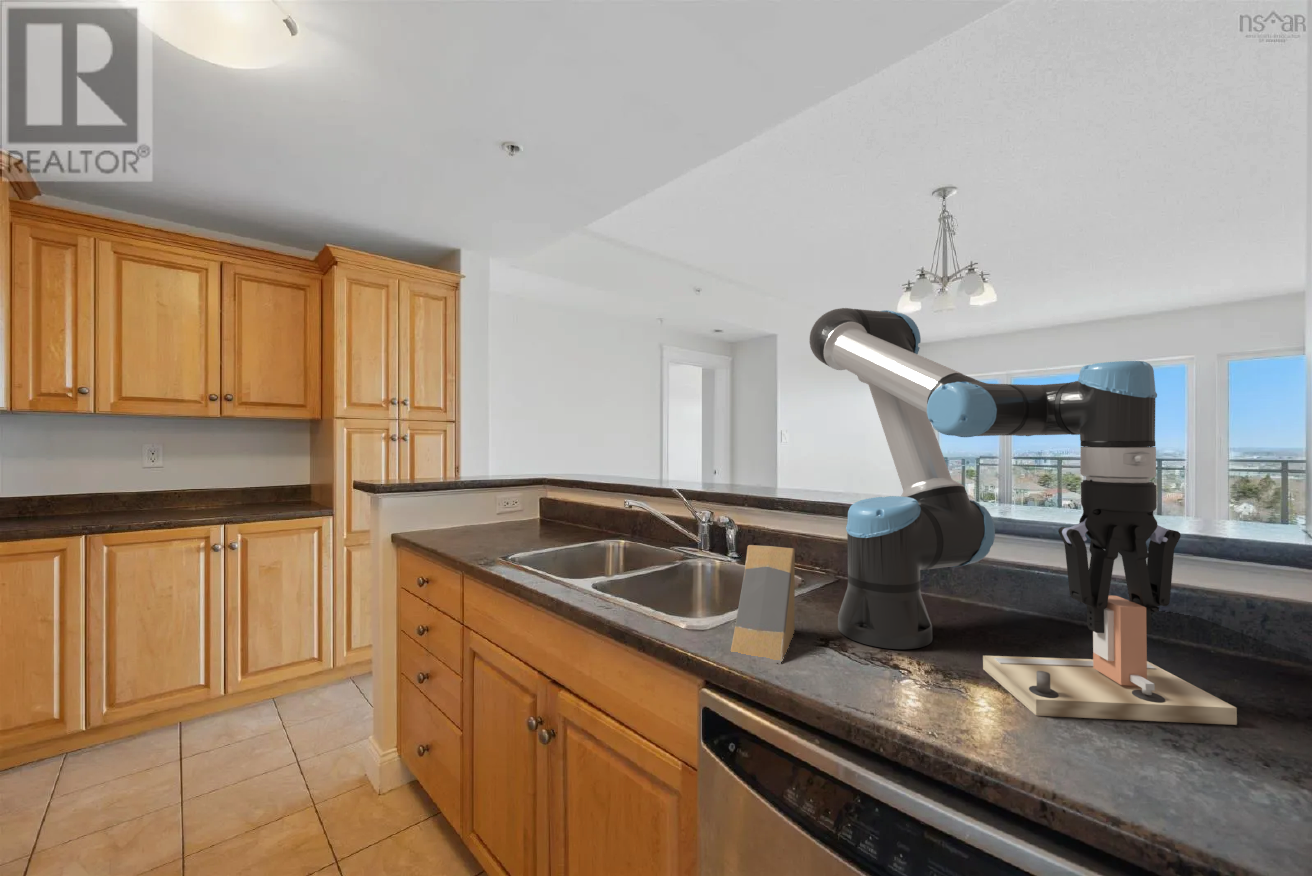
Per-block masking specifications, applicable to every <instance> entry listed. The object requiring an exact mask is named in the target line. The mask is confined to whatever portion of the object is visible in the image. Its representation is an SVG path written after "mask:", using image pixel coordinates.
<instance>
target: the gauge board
mask: <svg viewBox="0 0 1312 876" xmlns="http://www.w3.org/2000/svg"><path fill="white" fill-rule="evenodd" d="M982 669H983V671H985V672H986V673H987V674H988V675H989V676H990V677H992V679H994V680H995V681H996V682H997V683H999V684H1000V685H1001V687H1003V688H1004V689H1005V690H1006V691H1007V692H1009V693H1010V694H1011V695H1012V696H1014V698H1015V699H1017V700H1018V701H1019V702H1020V703H1021V704H1022V705H1023V706H1025V707H1026V708H1027V709H1028V710H1029V711H1030V712H1031V713H1033V715H1035V716H1040V717H1055V718H1056V717H1057V718H1058V717H1060V718H1077V719H1078V718H1080V719H1081V718H1084V719H1104V720H1105V719H1106V720H1124V721H1125V720H1126V721H1127V720H1128V721H1148V722H1166V723H1168V722H1169V723H1187V724H1189V723H1190V724H1191V723H1193V724H1206V725H1207V724H1208V725H1209V724H1211V725H1229V726H1230V725H1232V726H1237V725H1238V717H1237V716H1238V714H1237V711H1238V707H1236V706H1234V705H1232V704H1230V703H1228V702H1226V701H1224V700H1222V699H1221V698H1219V697H1217V696H1214V695H1213V694H1211V693H1209V692H1207V691H1205V690H1204V689H1201V688H1200V687H1198V686H1195V685H1194V684H1192V683H1190V682H1188V681H1186V680H1184V679H1182V678H1180V677H1178V676H1177V675H1174V673H1171V672H1169V671H1167V670H1165V669H1163V668H1161V667H1159V666H1158V665H1156V664H1153V663H1152V662H1149V661H1148V660H1147V680H1148V681H1150V682H1152V683H1154V684H1155V691H1154V690H1152V695H1147V694H1144V693H1142V688H1141V687H1139V686H1131V685H1120V684H1119V683H1117V682H1115V681H1114V680H1112V679H1110V678H1109V677H1107V676H1106V675H1104V674H1102V673H1101V672H1099V671H1097V670H1096V669H1094V668H1093V658H1092V659H1091V658H1067V657H1065V658H1064V657H1063V658H1062V657H1061V658H1060V657H1040V656H1039V657H1035V656H1033V657H1032V656H1007V655H1003V656H1002V655H982Z"/></svg>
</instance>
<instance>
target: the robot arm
mask: <svg viewBox="0 0 1312 876" xmlns="http://www.w3.org/2000/svg"><path fill="white" fill-rule="evenodd" d="M919 344H921V333H920V330H919V327H918V325H917V323H916V322H915V321H914V320H913V319H912V318H911V317H910V316H909V315H907V314H905V313H902V312H896V311H894V310H869V309H860V308H859V309H858V308H850V307H849V308H848V307H845V308H844V307H841V308H835V309H832V310H830V311H827V312H825V313H823V314H822V315H821V316H820V317H818V319H817V320H815V322H814V324H813V325H812V327H811V331H810V333H809V346H810V350H811V353H812V354H813V355H814V357H815V358H816V359H817V360H818V361H820V362H821V363H823V364H824V365H826V366H828V367H830V368H831V369H834V370H836V371H845V370H846V371H848V372H850V373H851V374H853V375H855V376H857V379H858V381H859V382H861V383H863V384H866V385H868V387H869V390H870V393H871V397H872V400H873V402H874V406H875V408H876V412H877V415H878V418H879V420H880V424H881V426H882V430H883V434H884V436H885V439H886V442H887V446H888V448H889V452H890V454H891V457H892V460H893V463H894V466H895V467H894V468H895V469H896V472H897V476H898V479H899V482H900V485H901V488H902V490H903V491H902V494H901V495H900V496H899V495H898V496H897V495H892V496H891V495H890V496H884V497H883V496H878V497H877V496H875V497H869V498H865V499H861V500H858V501H856V502H853V503H852V504H851V505H850V507H849V509H848V511H847V522H846V523H847V524H846V527H845V531H846V534H847V535H846V536H847V538H846V539H847V588H846V591H845V593H844V596H843V600H842V602H841V606H840V609H839V612H838V616H837V629H838V631H839V632H840V633H841V634H842V635H843V636H845V637H846V638H848V639H850V640H852V641H855V642H857V643H860V644H863V645H868V646H871V647H876V648H882V649H888V650H889V649H890V650H892V649H893V650H912V649H913V650H914V649H920V648H924V647H926V646H928V645H930V644H931V643H932V642H933V624H932V622H931V619H930V617H929V616H930V615H929V613H928V610H927V607H926V605H925V602H924V600H923V596H922V593H921V571H922V570H932V569H933V570H934V569H940V568H948V567H951V568H952V567H953V568H960V567H963V566H964V567H965V566H966V565H970V564H975V563H977V562H980V561H981V560H983V559H984V558H985V557H986V556H988V554H989V553H990V551H991V547H992V546H993V545H994V542H995V537H996V528H995V523H994V520H993V518H992V514H991V513H990V512H989V510H988V509H987V508H986V506H984V505H981V504H980V503H979V502H978V501H975V500H971V499H970V498H969V495H968V493H967V490H966V488H965V485H964V484H962V483H959V482H958V481H955V480H954V479H953V478H952V476H951V473H950V470H949V468H948V465H947V463H946V459H945V457H944V454H943V452H942V448H941V446H940V444H939V441H938V438H937V435H936V432H935V431H934V429H935V430H936V431H937V432H939V433H940V434H943V435H945V436H952V437H953V436H955V437H959V438H973V437H988V436H989V437H992V436H1017V437H1024V436H1025V437H1031V436H1057V435H1060V436H1061V435H1064V436H1065V435H1072V436H1074V435H1075V436H1078V435H1079V438H1080V439H1079V440H1080V461H1079V462H1080V466H1079V468H1080V469H1079V474H1080V475H1081V476H1083V477H1085V479H1083V480H1082V482H1080V504H1081V507H1082V515H1081V517H1080V518H1079V523H1076V524H1075V525H1072V526H1070V527H1066V526H1061V527H1059V528H1058V534H1059V536H1060V539H1061V540H1062V542H1063V544H1064V552H1065V561H1066V570H1067V578H1068V579H1067V581H1068V582H1067V583H1068V588H1069V596H1070V598H1071V599H1073V600H1076V601H1078V602H1080V603H1082V604H1083V605H1086V617H1087V618H1086V626H1087V628H1088V630H1089V631H1092V648H1093V649H1092V652H1094V653H1095V654H1097V655H1099V656H1101V657H1102V658H1104V659H1106V660H1108V661H1114V611H1113V610H1110V609H1108V608H1106V607H1107V602H1108V596H1110V589H1111V582H1112V577H1113V576H1112V575H1113V570H1114V564H1115V560H1117V559H1118V556H1119V555H1120V557H1121V560H1122V566H1123V571H1124V575H1125V582H1126V588H1127V593H1128V594H1127V595H1128V598H1129V599H1128V600H1129V601H1131V602H1134V603H1136V604H1139V605H1141V606H1144V607H1146V633H1147V635H1151V632H1152V613H1154V614H1156V613H1158V612H1159V610H1160V606H1162V607H1168V606H1169V604H1170V601H1171V591H1172V579H1173V570H1174V569H1173V568H1174V567H1173V566H1174V558H1175V557H1174V555H1175V549H1176V547H1177V545H1178V543H1179V541H1180V539H1181V536H1182V535H1181V533H1180V532H1179V531H1178V530H1174V529H1170V528H1165V527H1164V526H1161V525H1159V524H1158V521H1157V519H1156V518H1155V516H1154V511H1156V509H1157V508H1158V507H1157V505H1158V504H1157V503H1158V502H1157V500H1158V499H1157V498H1158V497H1157V496H1158V495H1157V489H1158V488H1157V484H1155V483H1154V482H1153V481H1151V480H1150V479H1154V478H1155V477H1157V447H1156V398H1158V393H1157V391H1156V383H1155V382H1156V381H1155V372H1154V371H1155V370H1154V367H1153V365H1151V364H1150V363H1148V362H1146V361H1144V360H1141V361H1140V360H1118V361H1117V360H1116V361H1106V362H1098V363H1092V364H1085V365H1084V366H1082V367H1081V368H1080V370H1079V376H1078V379H1077V380H1075V381H1071V382H1062V383H1049V384H1048V383H1046V384H1018V383H1017V384H1013V383H1012V384H1009V383H1008V384H1007V383H989V382H988V383H987V382H984V381H980V380H978V379H975V378H973V377H971V376H967V375H966V374H963V373H961V372H959V371H957V370H956V369H955V370H954V369H953V368H950V367H947V366H945V365H943V364H941V363H938V362H936V361H934V360H931V359H929V358H927V357H924V356H922V355H920V354H919V352H920V349H921V348H920V347H919ZM1086 535H1087V536H1088V537H1089V539H1090V544H1089V553H1090V561H1089V559H1088V558H1089V557H1088V551H1087V549H1088V548H1087V546H1086V541H1087V540H1088V538H1087V537H1086ZM1149 539H1150V540H1149ZM1148 540H1149V543H1148V546H1147V541H1148Z"/></svg>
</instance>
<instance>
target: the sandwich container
mask: <svg viewBox="0 0 1312 876" xmlns="http://www.w3.org/2000/svg"><path fill="white" fill-rule="evenodd" d="M746 548H747V549H746V557H745V565H744V571H743V572H744V573H743V578H742V583H741V584H742V585H741V591H740V596H739V603H738V607H737V608H738V609H737V613H736V619H735V625H734V630H733V631H734V632H733V635H732V643H731V647H730V651H731V652H738V653H741V654H746V655H751V656H758V657H766V658H770V659H773V660H780V661H782V659H783V657H784V655H785V653H786V652H787V649H788V647H789V645H790V643H791V640H793V639H792V638H794V635H795V631H794V630H796V629H795V624H796V623H795V616H796V615H795V613H796V612H795V611H796V610H795V609H796V608H795V607H796V606H795V605H796V604H795V603H796V602H795V601H796V600H795V598H796V597H795V596H796V595H795V593H796V591H795V589H796V586H795V579H796V577H795V576H796V575H795V574H796V573H795V569H796V568H795V566H796V565H795V561H796V559H795V558H796V557H795V555H796V553H795V552H796V550H795V548H794V547H793V548H792V547H781V546H772V545H771V546H770V545H756V544H755V545H754V544H749V545H747V547H746ZM793 634H794V635H793ZM789 648H790V647H789ZM788 650H789V649H788ZM787 653H788V652H787Z"/></svg>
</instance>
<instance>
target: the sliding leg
mask: <svg viewBox="0 0 1312 876" xmlns="http://www.w3.org/2000/svg"><path fill="white" fill-rule="evenodd" d="M1106 608H1108V609H1110V610H1113V611H1114V661H1108V660H1106V659H1104V658H1102V657H1101V656H1099V655H1097V654H1095V653H1094V652H1093V651H1092V652H1093V653H1092V659H1093V668H1094V669H1096V670H1097V671H1099V672H1101V673H1102V674H1104V675H1106V676H1107V677H1109V678H1110V679H1112V680H1114V681H1115V682H1117V683H1119V684H1120V685H1131V686H1139V687H1141V688H1142V693H1144V694H1147V695H1152V690H1154V691H1155V684H1154V683H1152V682H1150V681H1148V680H1147V661H1148V656H1147V655H1148V654H1147V653H1148V652H1147V649H1148V647H1147V646H1148V644H1147V642H1148V641H1147V637H1148V636H1147V635H1148V634H1147V633H1146V607H1144V606H1141V605H1139V604H1136V603H1134V602H1131V601H1130V599H1126V598H1123V597H1121V596H1119V595H1109V596H1108V602H1107V607H1106Z"/></svg>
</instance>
